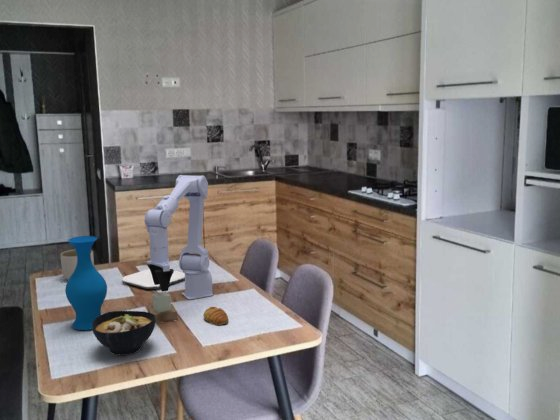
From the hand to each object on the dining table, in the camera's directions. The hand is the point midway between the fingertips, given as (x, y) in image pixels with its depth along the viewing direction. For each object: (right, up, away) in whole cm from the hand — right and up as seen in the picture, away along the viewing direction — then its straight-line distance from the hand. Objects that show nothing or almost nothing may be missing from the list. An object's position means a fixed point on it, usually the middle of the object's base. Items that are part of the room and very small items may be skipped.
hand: (161, 287), depth 175 cm
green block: (0, -7, +1) cm, 7 cm away
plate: (-12, -4, +42) cm, 43 cm away
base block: (0, -11, +2) cm, 11 cm away
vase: (-22, -12, -3) cm, 25 cm away
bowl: (-5, -15, -21) cm, 26 cm away
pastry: (+18, -11, 0) cm, 21 cm away
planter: (-44, -3, +46) cm, 63 cm away
